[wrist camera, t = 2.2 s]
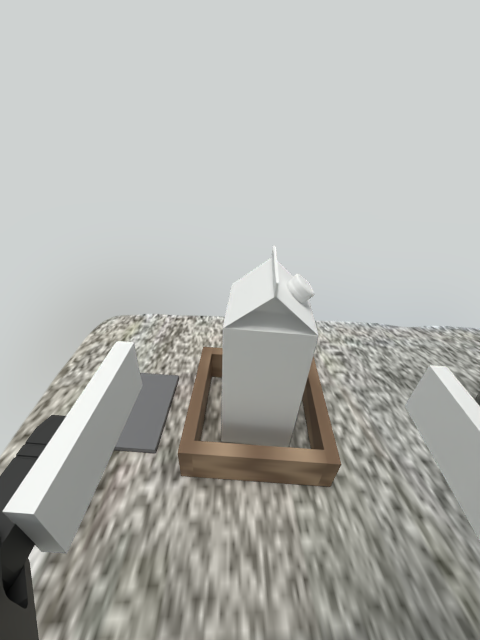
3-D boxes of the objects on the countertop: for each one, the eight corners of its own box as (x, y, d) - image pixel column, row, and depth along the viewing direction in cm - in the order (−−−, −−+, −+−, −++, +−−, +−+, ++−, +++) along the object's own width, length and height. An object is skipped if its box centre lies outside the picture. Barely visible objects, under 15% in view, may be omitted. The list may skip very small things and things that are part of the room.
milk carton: (220, 443, 29) (222, 278, 18) (228, 390, 34) (233, 242, 24) (288, 449, 28) (333, 287, 18) (284, 395, 34) (315, 248, 23)
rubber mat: (178, 378, 36) (178, 375, 35) (155, 453, 27) (155, 449, 27) (102, 373, 36) (101, 370, 35) (57, 445, 28) (54, 442, 27)
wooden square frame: (306, 373, 38) (312, 351, 35) (330, 486, 26) (341, 464, 23) (204, 366, 38) (204, 343, 35) (181, 475, 26) (177, 452, 23)
